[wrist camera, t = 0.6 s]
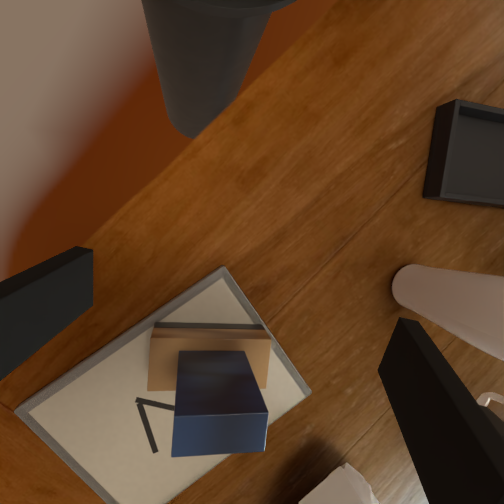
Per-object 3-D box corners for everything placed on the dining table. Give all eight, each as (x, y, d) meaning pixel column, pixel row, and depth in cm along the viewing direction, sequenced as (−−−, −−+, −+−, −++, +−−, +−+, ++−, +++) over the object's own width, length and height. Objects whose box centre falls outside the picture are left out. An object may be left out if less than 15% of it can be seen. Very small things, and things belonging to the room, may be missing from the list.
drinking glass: (373, 293, 36) (497, 350, 22) (405, 246, 36) (551, 270, 22) (412, 321, 38) (552, 391, 23) (442, 276, 38) (602, 317, 23)
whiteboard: (18, 405, 30) (12, 411, 29) (223, 264, 32) (224, 265, 31) (134, 520, 34) (132, 529, 33) (309, 388, 36) (312, 393, 35)
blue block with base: (152, 369, 31) (126, 477, 18) (155, 321, 30) (131, 400, 18) (257, 368, 33) (298, 464, 21) (262, 324, 33) (307, 395, 20)
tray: (422, 197, 36) (440, 196, 33) (436, 106, 35) (456, 98, 32) (530, 211, 39) (554, 211, 37) (547, 129, 38) (573, 123, 35)
